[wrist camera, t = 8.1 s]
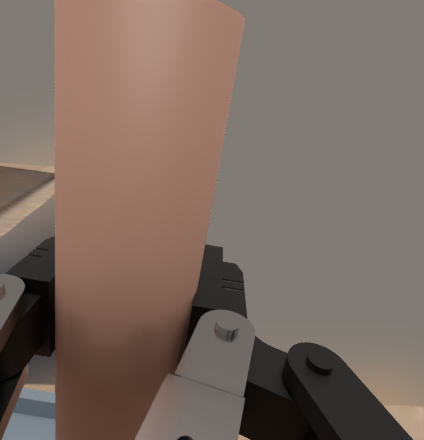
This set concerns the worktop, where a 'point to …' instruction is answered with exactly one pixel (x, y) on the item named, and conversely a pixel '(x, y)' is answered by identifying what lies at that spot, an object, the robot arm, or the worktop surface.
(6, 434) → the tray
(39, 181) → the worktop surface
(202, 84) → the dowel
